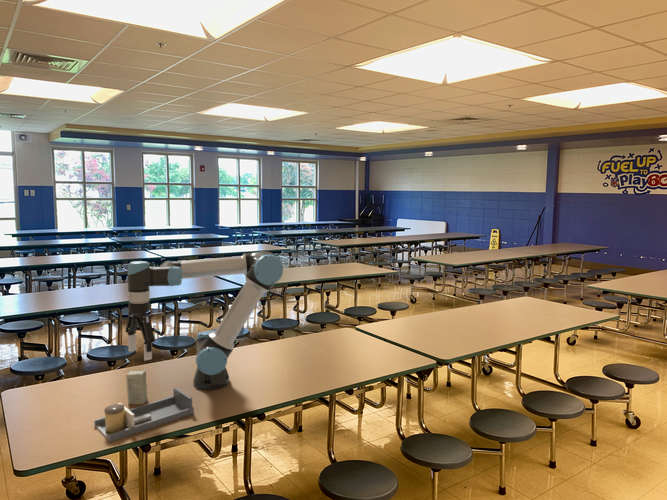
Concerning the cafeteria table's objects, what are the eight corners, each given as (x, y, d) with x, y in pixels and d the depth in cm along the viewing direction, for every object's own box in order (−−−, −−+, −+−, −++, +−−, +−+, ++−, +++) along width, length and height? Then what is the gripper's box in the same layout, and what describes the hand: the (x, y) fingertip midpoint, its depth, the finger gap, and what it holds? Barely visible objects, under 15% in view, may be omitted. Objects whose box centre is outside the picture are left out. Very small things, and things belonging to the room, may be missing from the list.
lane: (94, 426, 166) (93, 410, 165) (175, 401, 187) (174, 386, 186) (110, 442, 155) (109, 425, 155) (193, 414, 176) (193, 398, 176)
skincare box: (147, 399, 188) (146, 370, 187) (143, 404, 184) (142, 374, 182) (131, 399, 188) (130, 370, 186) (127, 404, 184) (125, 374, 182)
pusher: (118, 419, 170) (117, 403, 169) (142, 411, 176) (142, 396, 176) (132, 431, 161) (131, 415, 161) (157, 423, 168) (157, 407, 167)
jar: (102, 429, 164) (101, 407, 163) (120, 423, 168) (120, 402, 167) (109, 435, 159) (108, 413, 158) (127, 429, 163) (127, 408, 163)
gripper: (115, 297, 187) (116, 349, 189) (144, 309, 170) (145, 365, 172) (134, 295, 192) (135, 345, 194) (163, 305, 175) (164, 361, 177)
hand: (140, 355), depth 183 cm, fingers open, 13 cm apart
